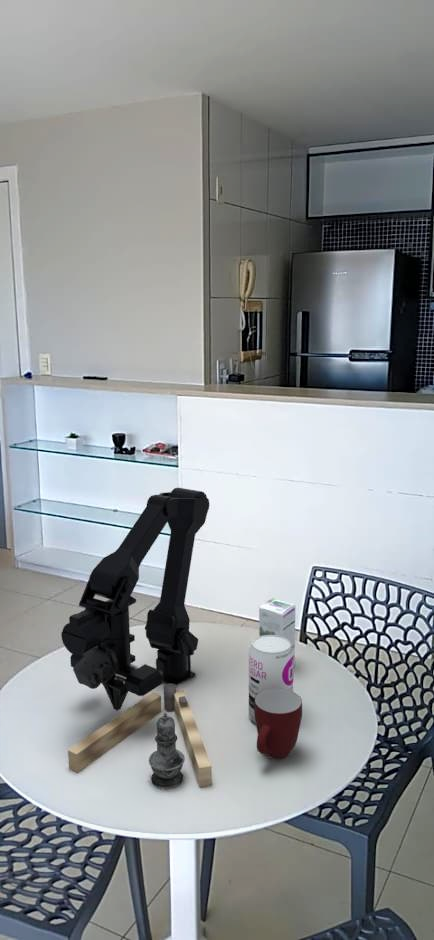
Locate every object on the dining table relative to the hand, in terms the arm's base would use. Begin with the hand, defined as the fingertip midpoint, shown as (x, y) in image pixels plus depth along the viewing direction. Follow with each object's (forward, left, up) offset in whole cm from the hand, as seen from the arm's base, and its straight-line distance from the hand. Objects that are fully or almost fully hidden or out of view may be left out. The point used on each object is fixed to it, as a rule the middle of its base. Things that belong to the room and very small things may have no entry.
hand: (117, 709), depth 137 cm
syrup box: (-35, +7, -2) cm, 36 cm away
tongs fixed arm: (-4, +15, -1) cm, 15 cm away
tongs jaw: (+4, +6, -1) cm, 7 cm away
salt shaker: (+4, +21, -2) cm, 21 cm away
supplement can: (-21, +19, -2) cm, 29 cm away
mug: (-13, +28, -2) cm, 31 cm away
